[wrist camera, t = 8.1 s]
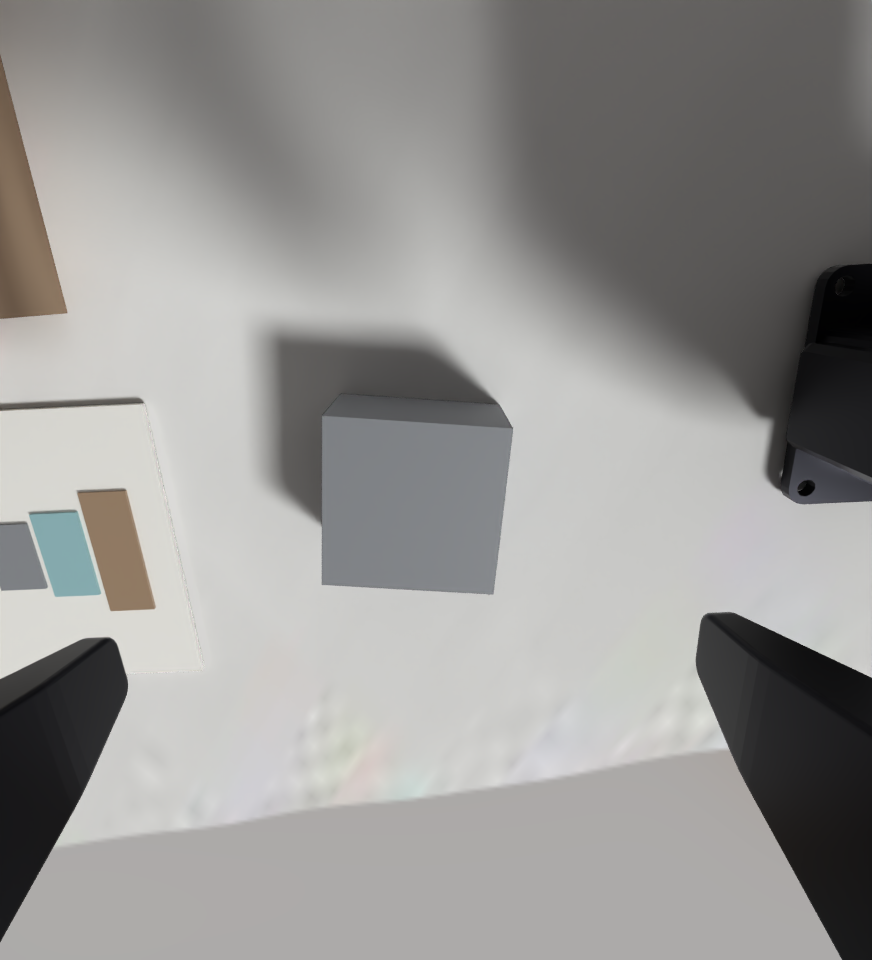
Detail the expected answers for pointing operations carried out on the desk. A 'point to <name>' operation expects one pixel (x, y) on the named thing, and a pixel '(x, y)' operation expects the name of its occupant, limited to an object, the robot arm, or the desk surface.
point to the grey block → (413, 493)
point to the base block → (22, 228)
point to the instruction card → (89, 540)
